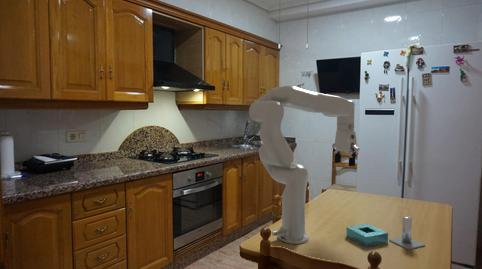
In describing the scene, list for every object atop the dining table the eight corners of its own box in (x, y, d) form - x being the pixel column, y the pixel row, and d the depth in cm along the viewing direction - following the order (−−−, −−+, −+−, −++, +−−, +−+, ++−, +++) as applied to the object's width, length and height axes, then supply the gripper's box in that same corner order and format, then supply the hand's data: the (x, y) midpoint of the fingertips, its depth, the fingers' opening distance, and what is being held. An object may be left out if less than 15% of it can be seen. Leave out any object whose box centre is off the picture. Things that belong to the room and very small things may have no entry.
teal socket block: (366, 247, 120) (366, 237, 120) (346, 236, 131) (346, 227, 130) (387, 242, 124) (388, 232, 124) (367, 232, 135) (367, 223, 135)
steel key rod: (407, 244, 121) (407, 219, 121) (399, 240, 125) (400, 216, 124) (413, 242, 123) (414, 218, 122) (406, 239, 126) (406, 215, 125)
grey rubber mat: (408, 249, 118) (408, 248, 118) (389, 240, 126) (389, 239, 126) (425, 245, 121) (425, 244, 121) (405, 237, 129) (405, 236, 129)
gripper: (365, 128, 135) (364, 167, 136) (339, 126, 151) (338, 161, 153) (351, 128, 132) (351, 168, 134) (326, 126, 149) (326, 162, 150)
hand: (344, 164), depth 143 cm, fingers open, 9 cm apart
